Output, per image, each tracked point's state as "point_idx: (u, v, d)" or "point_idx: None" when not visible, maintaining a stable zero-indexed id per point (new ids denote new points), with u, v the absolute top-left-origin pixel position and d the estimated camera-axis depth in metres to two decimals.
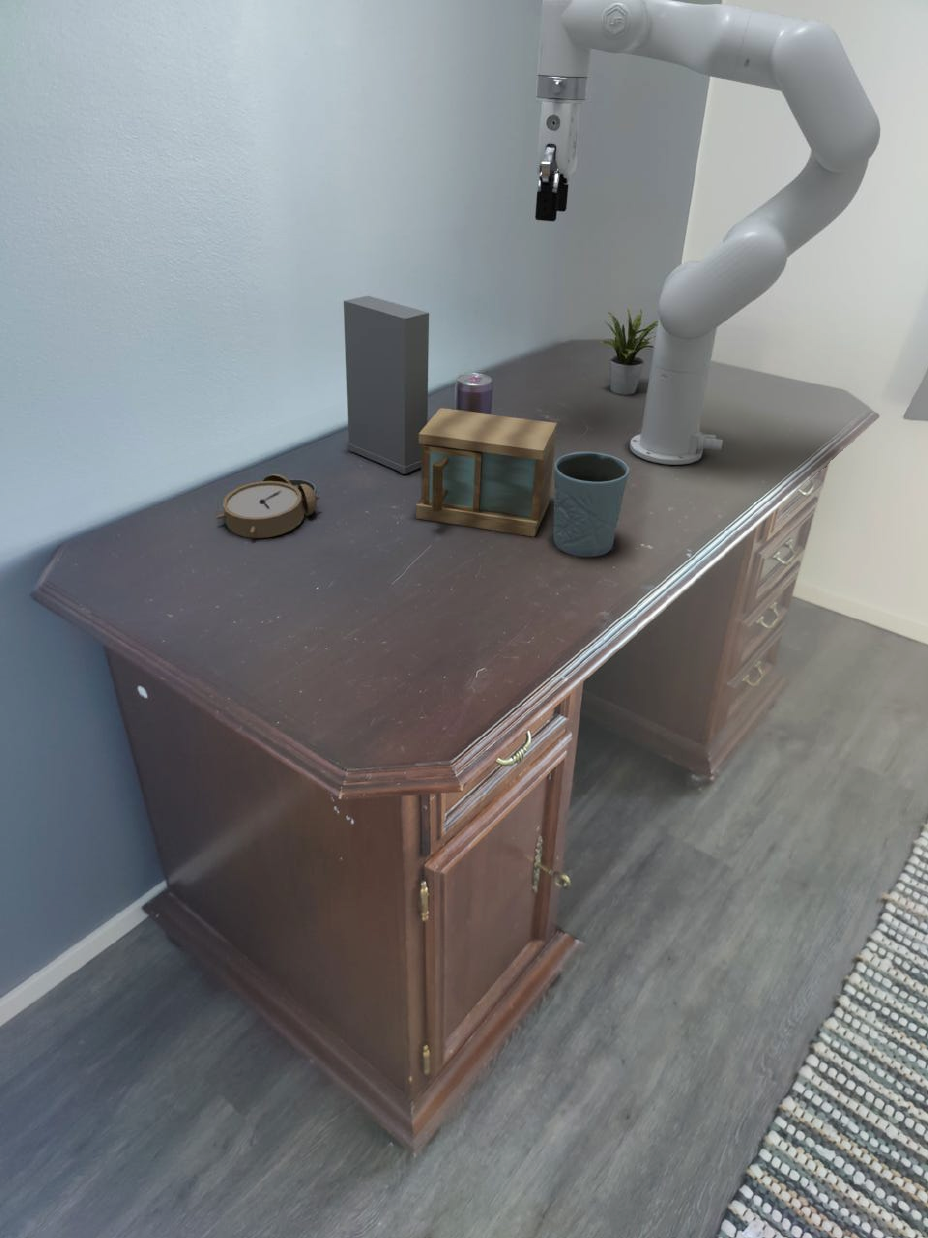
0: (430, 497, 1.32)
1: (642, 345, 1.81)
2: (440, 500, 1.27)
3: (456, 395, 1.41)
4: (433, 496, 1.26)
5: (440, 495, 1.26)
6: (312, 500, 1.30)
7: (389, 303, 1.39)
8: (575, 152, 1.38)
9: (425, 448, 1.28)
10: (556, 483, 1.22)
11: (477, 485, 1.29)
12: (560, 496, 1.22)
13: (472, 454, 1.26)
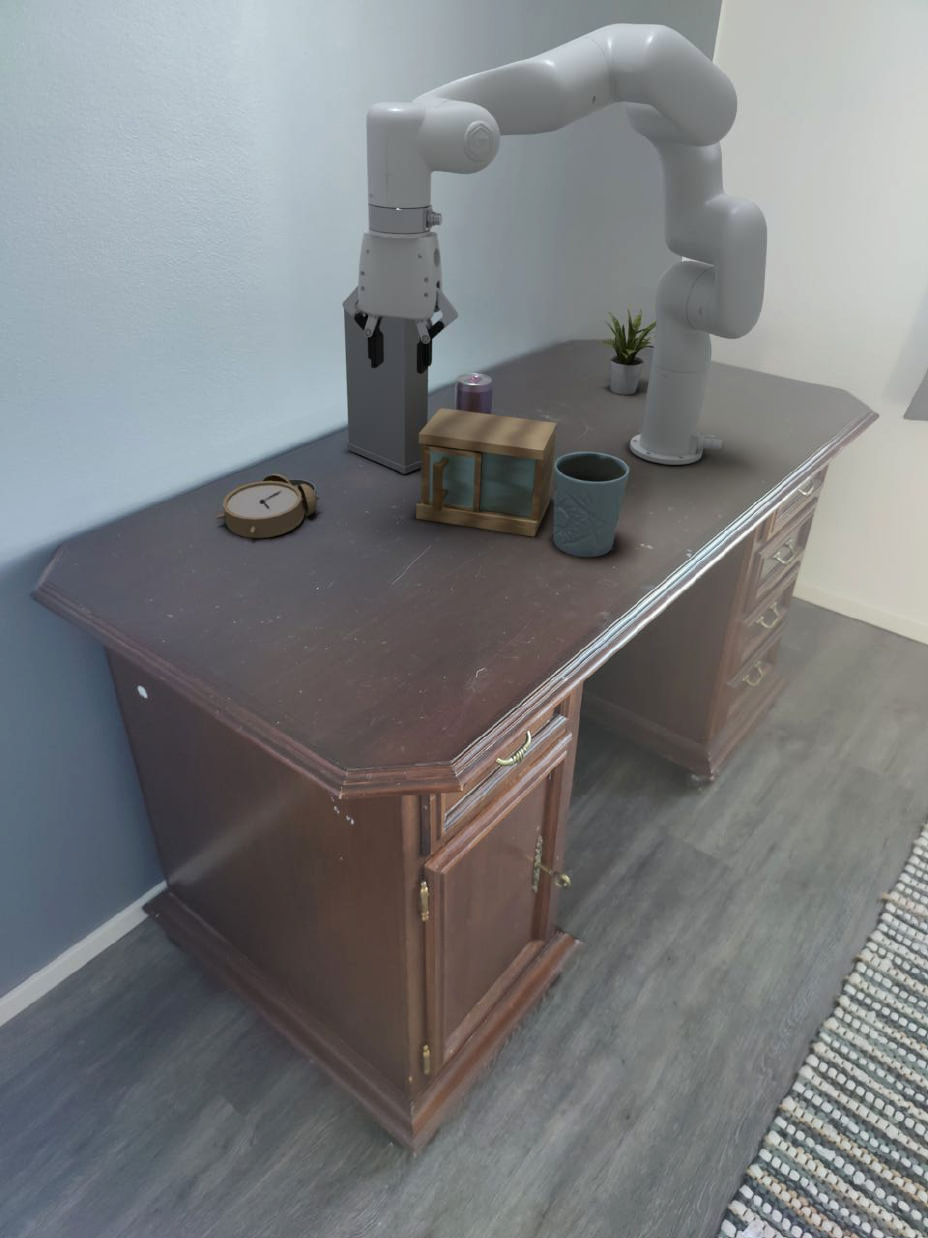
0: (430, 497, 1.32)
1: (642, 345, 1.81)
2: (440, 500, 1.27)
3: (456, 395, 1.41)
4: (433, 496, 1.26)
5: (440, 495, 1.26)
6: (312, 500, 1.30)
7: None
8: None
9: (425, 448, 1.28)
10: (556, 483, 1.22)
11: (477, 485, 1.29)
12: (560, 496, 1.22)
13: (472, 454, 1.26)
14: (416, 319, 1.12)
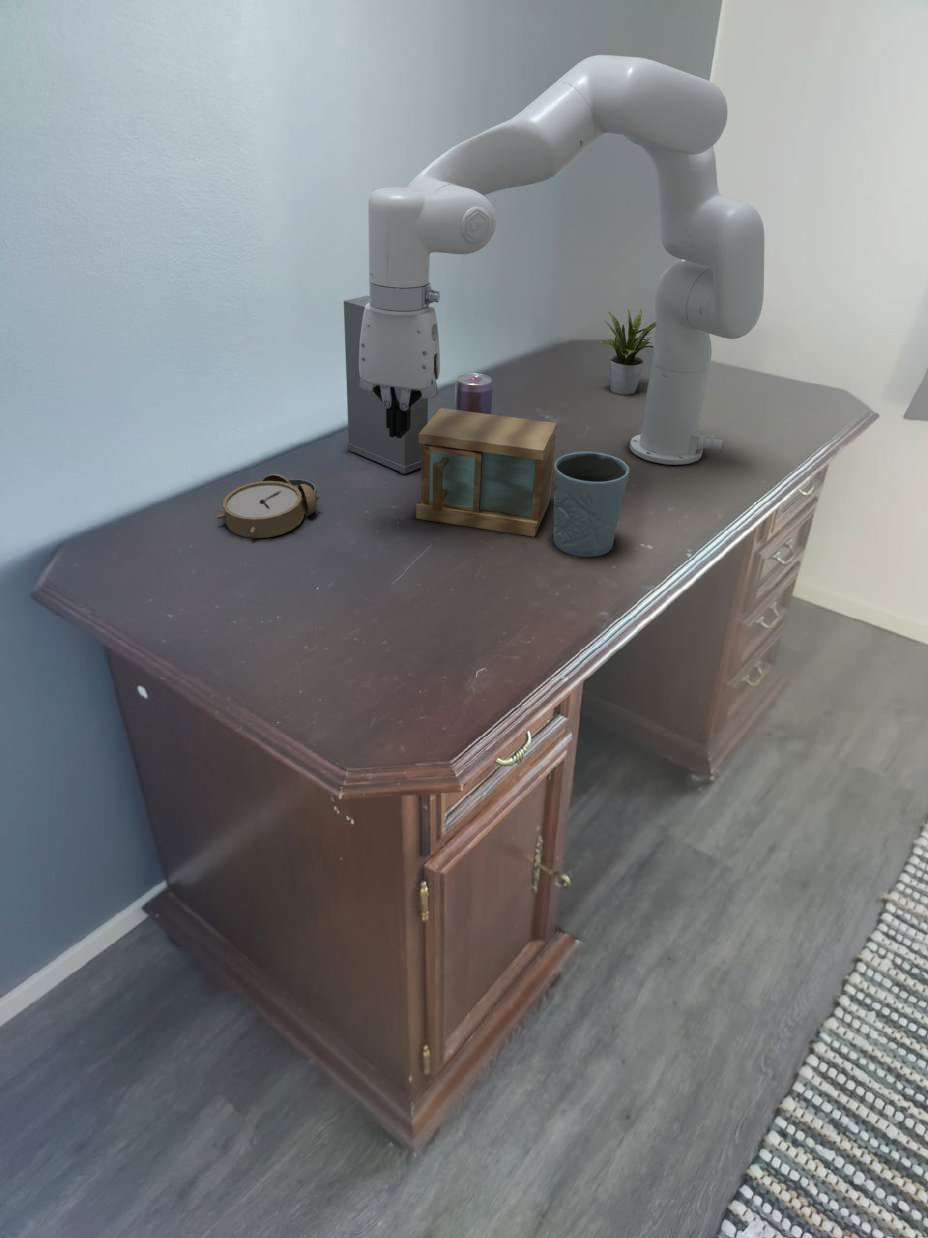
0: (430, 497, 1.32)
1: (642, 345, 1.81)
2: (440, 500, 1.27)
3: (456, 395, 1.41)
4: (433, 496, 1.26)
5: (440, 495, 1.26)
6: (312, 500, 1.30)
7: None
8: None
9: (425, 448, 1.28)
10: (556, 483, 1.22)
11: (477, 485, 1.29)
12: (560, 496, 1.22)
13: (472, 454, 1.26)
14: (414, 389, 1.17)
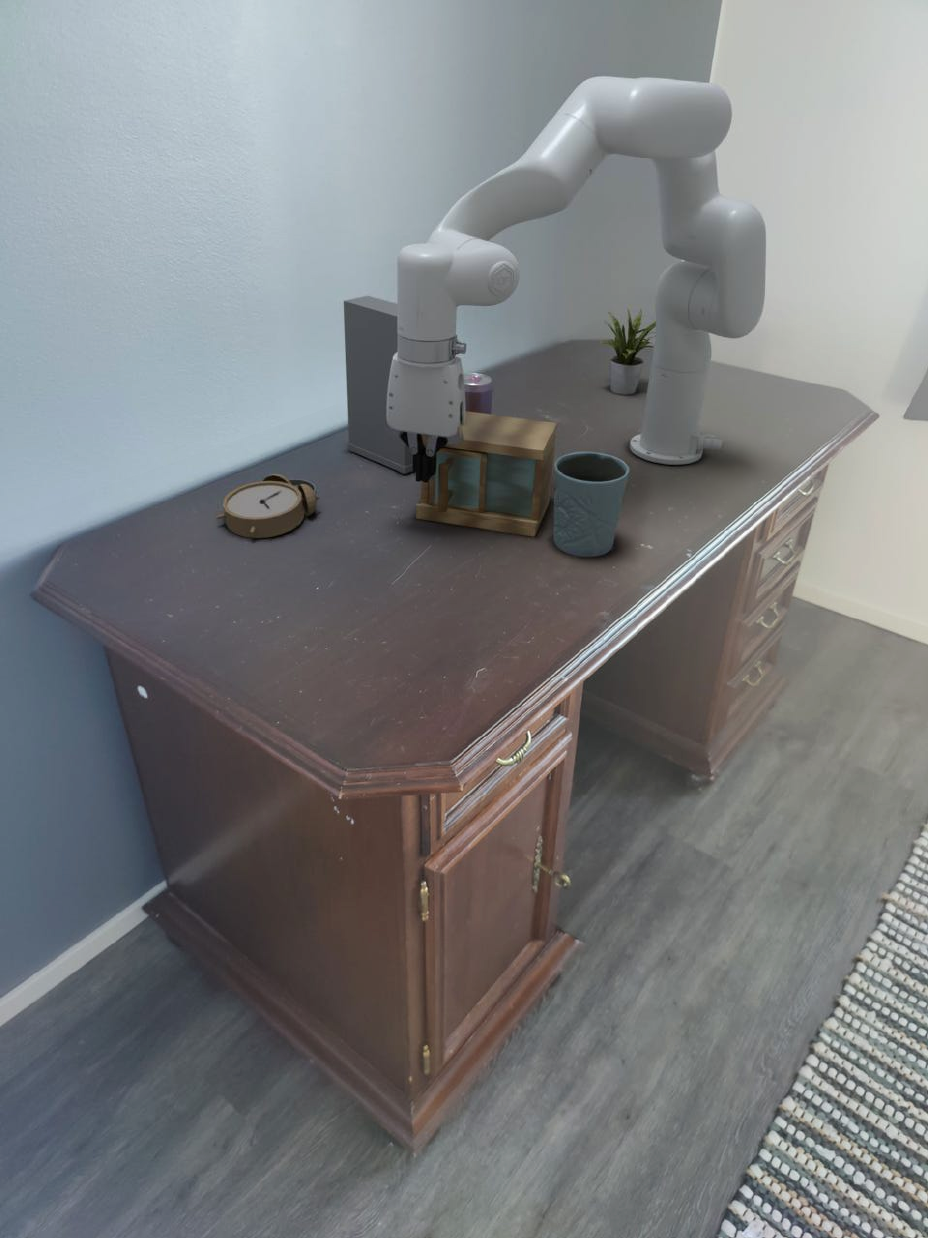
0: (435, 498, 1.32)
1: (642, 345, 1.81)
2: (445, 501, 1.26)
3: None
4: (438, 497, 1.26)
5: (446, 496, 1.26)
6: (312, 500, 1.30)
7: (389, 303, 1.39)
8: None
9: None
10: (556, 483, 1.22)
11: (482, 486, 1.29)
12: (560, 496, 1.22)
13: (477, 454, 1.26)
14: (441, 436, 1.20)
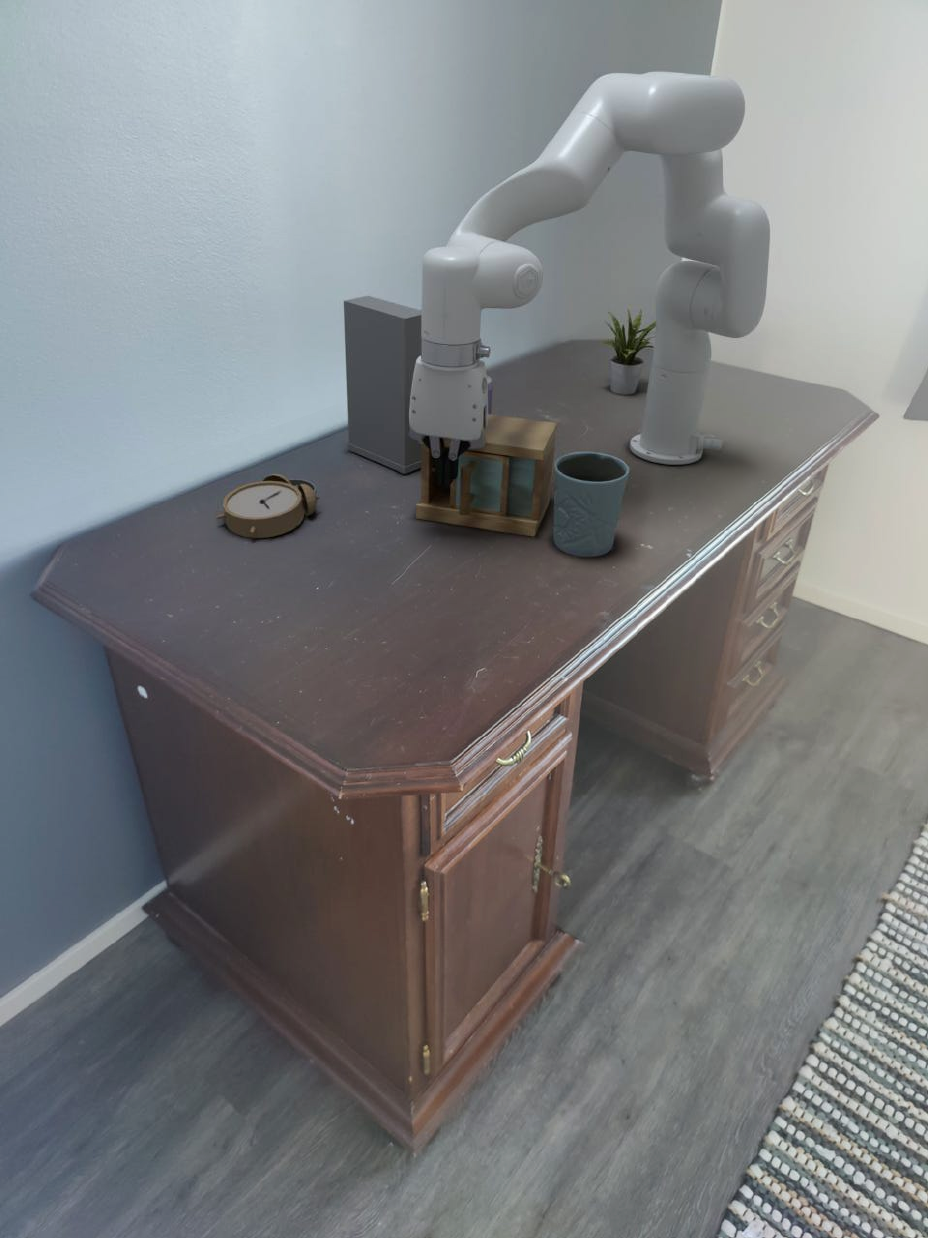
0: (456, 501, 1.31)
1: (642, 345, 1.81)
2: (468, 504, 1.26)
3: None
4: (461, 500, 1.26)
5: (468, 499, 1.25)
6: (312, 500, 1.30)
7: (389, 303, 1.39)
8: None
9: None
10: (556, 483, 1.22)
11: (504, 489, 1.28)
12: (560, 496, 1.22)
13: (499, 458, 1.25)
14: (463, 440, 1.19)
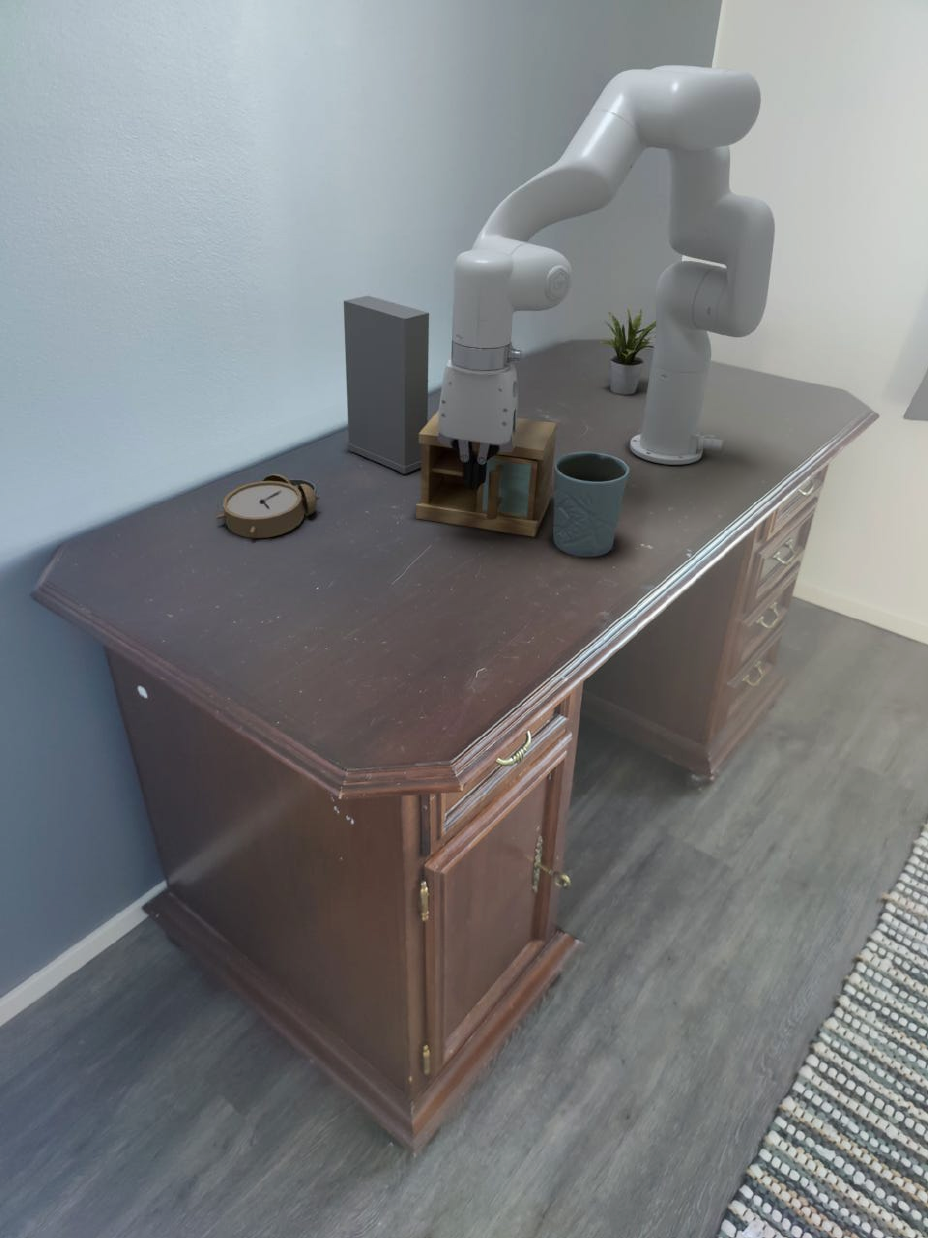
0: (483, 505, 1.30)
1: (642, 345, 1.81)
2: (495, 508, 1.25)
3: None
4: (488, 504, 1.25)
5: (496, 503, 1.25)
6: (312, 500, 1.30)
7: (389, 303, 1.39)
8: None
9: None
10: (556, 483, 1.22)
11: (532, 493, 1.27)
12: (560, 496, 1.22)
13: (527, 461, 1.25)
14: (493, 444, 1.18)
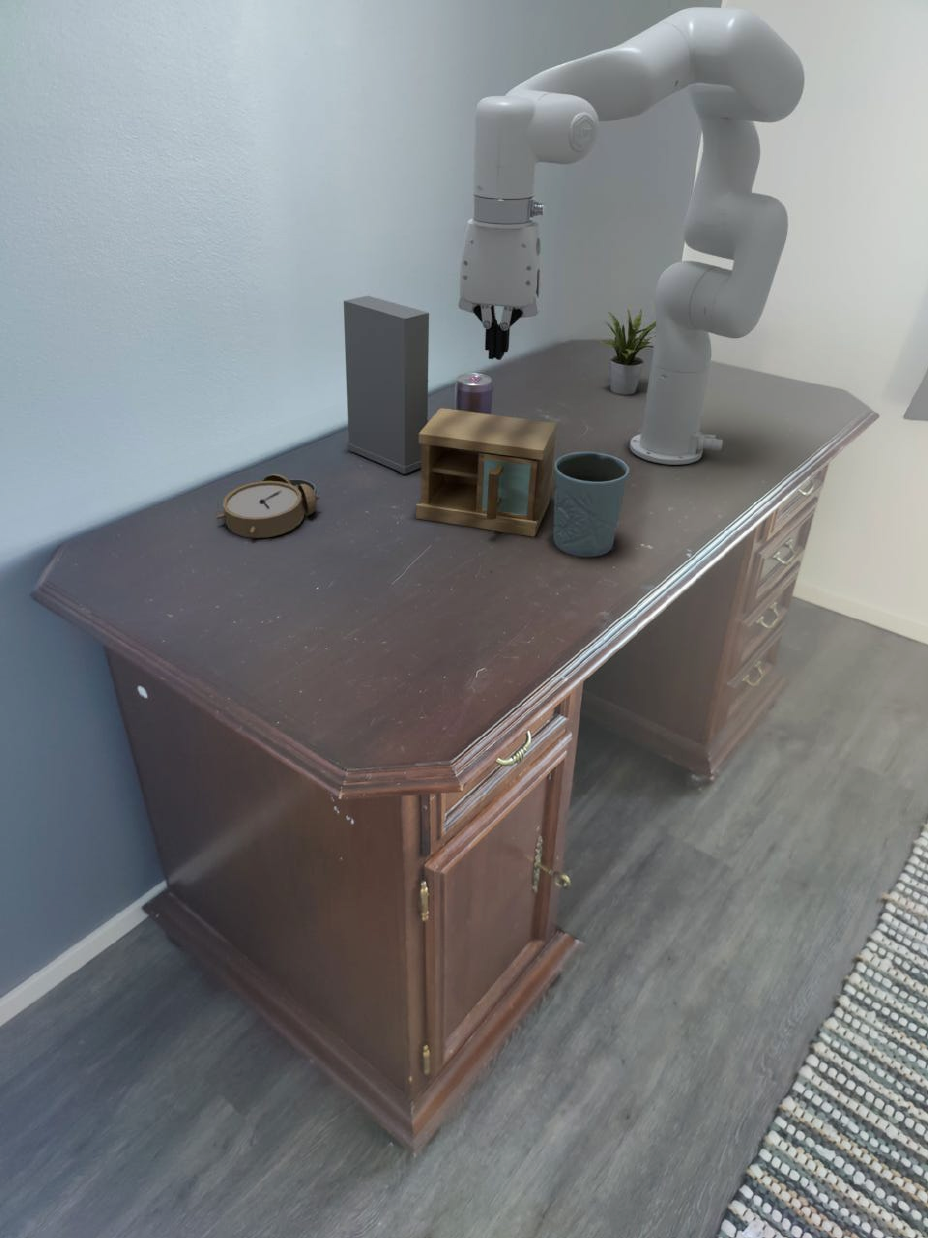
0: (483, 505, 1.30)
1: (642, 345, 1.81)
2: (495, 508, 1.25)
3: (456, 395, 1.41)
4: (488, 504, 1.25)
5: (495, 503, 1.25)
6: (312, 500, 1.30)
7: (389, 303, 1.39)
8: None
9: (479, 455, 1.26)
10: (556, 483, 1.22)
11: (531, 493, 1.27)
12: (560, 496, 1.22)
13: (527, 461, 1.25)
14: (516, 307, 1.16)
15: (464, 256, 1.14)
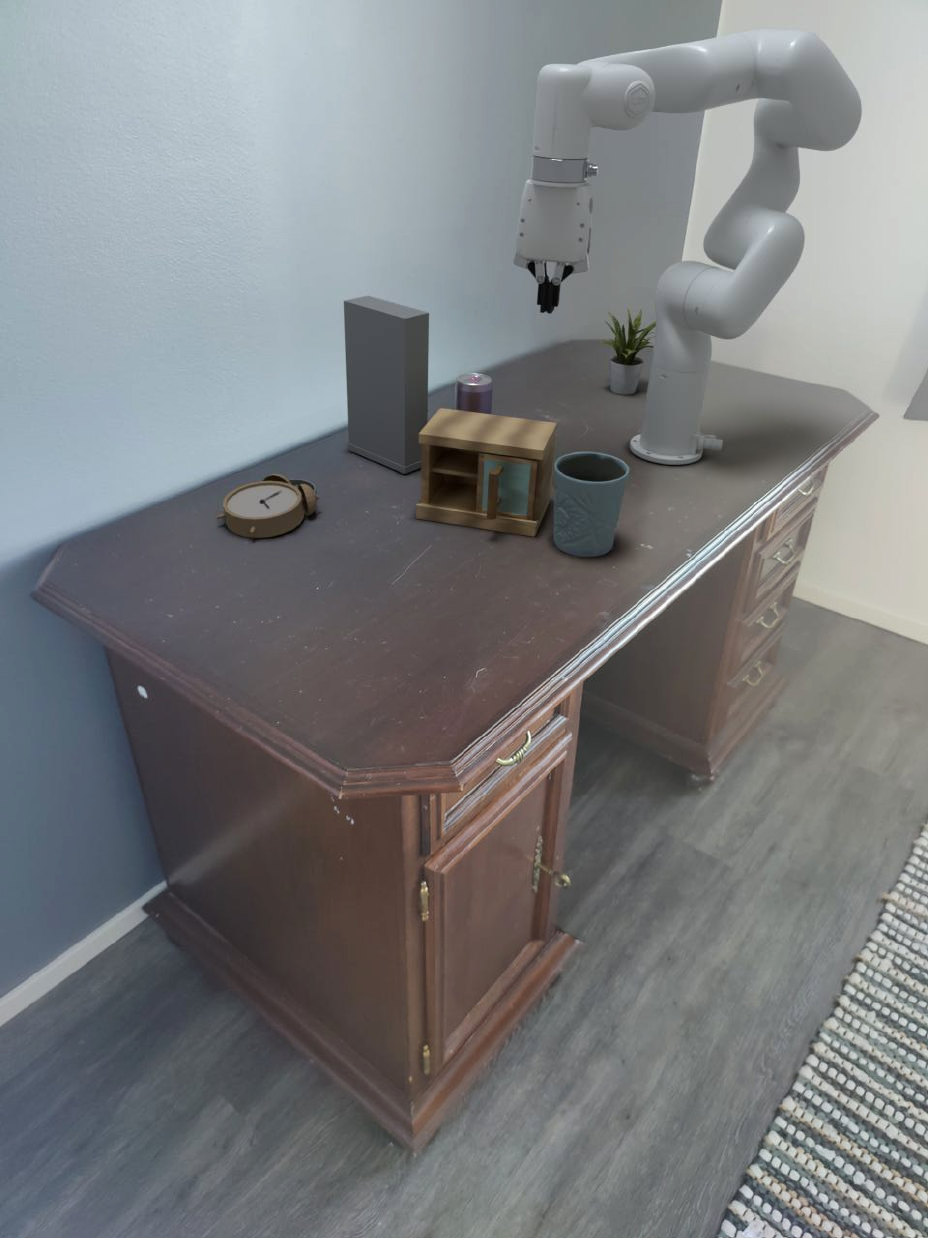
0: (483, 505, 1.30)
1: (642, 345, 1.81)
2: (495, 508, 1.25)
3: (456, 395, 1.41)
4: (488, 504, 1.25)
5: (495, 503, 1.25)
6: (312, 500, 1.30)
7: (389, 303, 1.39)
8: None
9: (479, 455, 1.26)
10: (556, 483, 1.22)
11: (531, 493, 1.27)
12: (560, 496, 1.22)
13: (527, 461, 1.25)
14: (568, 262, 1.25)
15: (521, 214, 1.23)
